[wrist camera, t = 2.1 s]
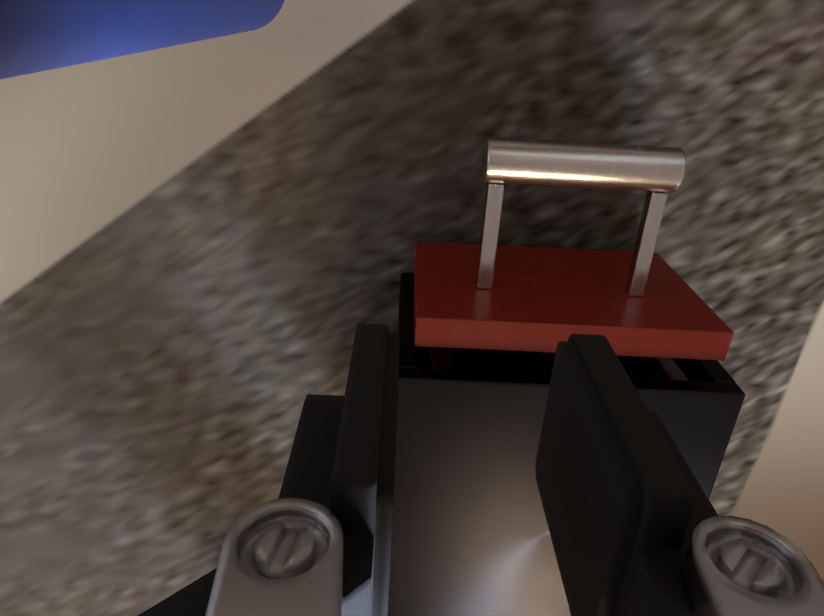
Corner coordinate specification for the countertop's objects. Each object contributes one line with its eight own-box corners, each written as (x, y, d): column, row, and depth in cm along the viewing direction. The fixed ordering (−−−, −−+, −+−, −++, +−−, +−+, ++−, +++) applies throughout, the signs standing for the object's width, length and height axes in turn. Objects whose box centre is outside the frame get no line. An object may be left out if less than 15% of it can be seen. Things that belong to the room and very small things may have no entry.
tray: (423, 111, 26) (426, 152, 19) (688, 126, 27) (786, 171, 20) (401, 466, 35) (399, 583, 28) (602, 475, 35) (649, 593, 28)
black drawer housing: (400, 271, 31) (396, 377, 22) (653, 284, 31) (746, 394, 22) (389, 496, 37) (382, 646, 28) (598, 505, 37) (654, 656, 29)
